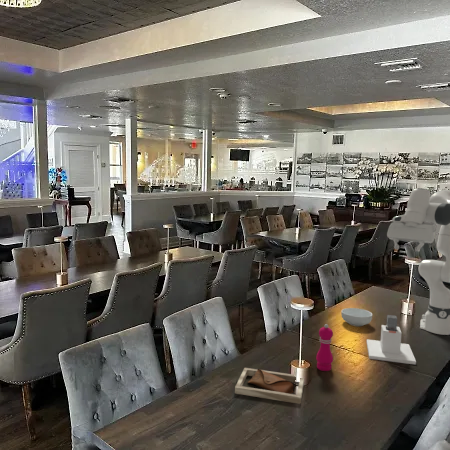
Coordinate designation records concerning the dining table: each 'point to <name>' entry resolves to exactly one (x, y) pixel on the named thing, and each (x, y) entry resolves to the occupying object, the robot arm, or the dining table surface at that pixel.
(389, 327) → the jack column
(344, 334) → the dining table surface
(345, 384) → the dining table surface
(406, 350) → the stand housing
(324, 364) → the pepper mill
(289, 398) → the birch tray rim
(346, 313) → the cereal bowl
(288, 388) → the sunglasses case
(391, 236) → the robot arm
